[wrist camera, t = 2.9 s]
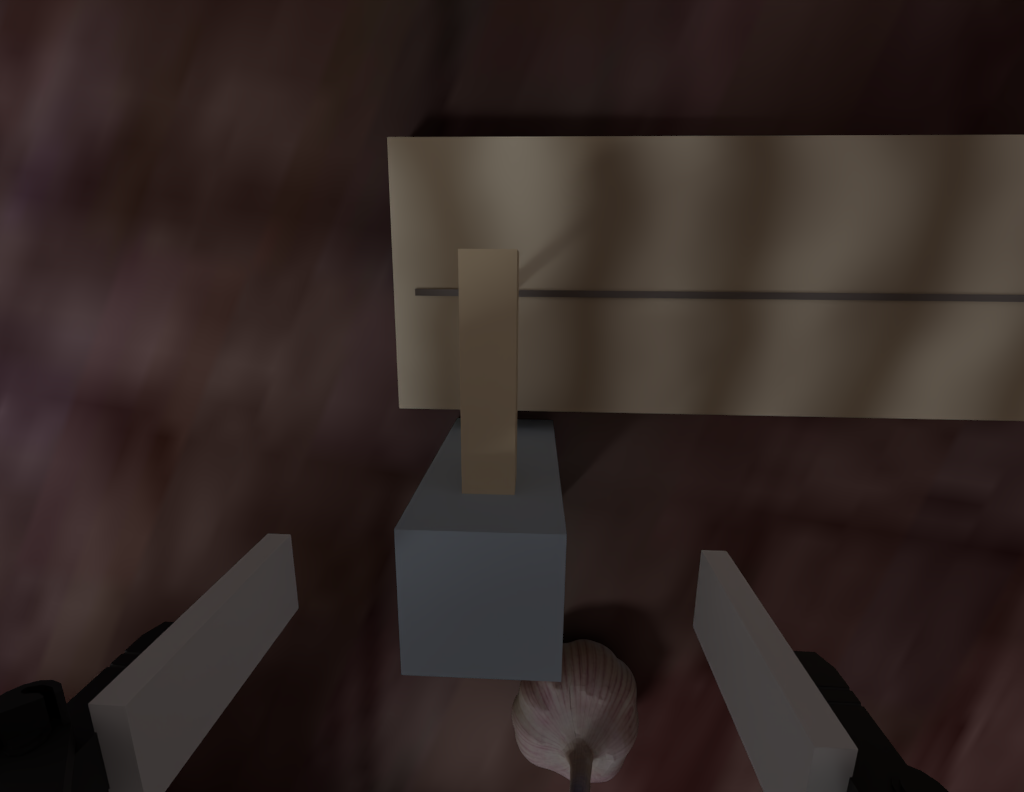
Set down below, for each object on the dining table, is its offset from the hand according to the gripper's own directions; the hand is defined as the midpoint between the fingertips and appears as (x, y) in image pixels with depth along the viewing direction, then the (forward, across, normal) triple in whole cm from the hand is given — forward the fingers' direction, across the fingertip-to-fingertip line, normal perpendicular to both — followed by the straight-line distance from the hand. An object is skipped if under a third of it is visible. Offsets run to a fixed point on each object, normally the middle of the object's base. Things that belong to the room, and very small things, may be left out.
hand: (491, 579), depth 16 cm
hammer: (+11, 0, +4) cm, 12 cm away
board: (+11, +10, +9) cm, 17 cm away
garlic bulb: (+11, +4, -14) cm, 18 cm away
